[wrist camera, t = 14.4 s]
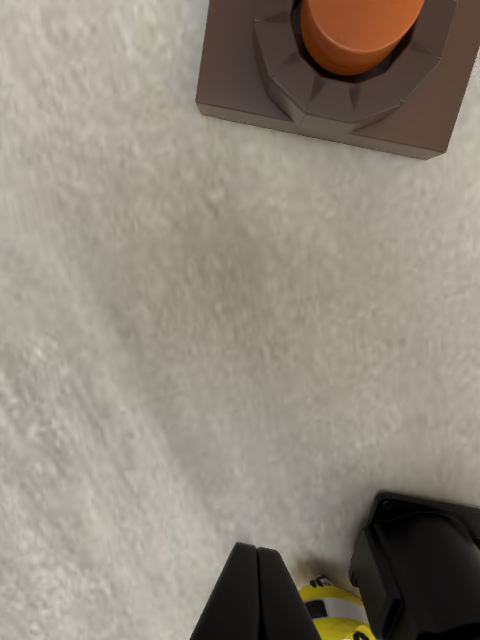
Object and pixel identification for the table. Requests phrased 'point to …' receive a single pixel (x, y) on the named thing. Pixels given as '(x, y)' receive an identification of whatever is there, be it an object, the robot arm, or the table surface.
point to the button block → (339, 77)
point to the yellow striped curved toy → (335, 611)
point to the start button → (355, 31)
